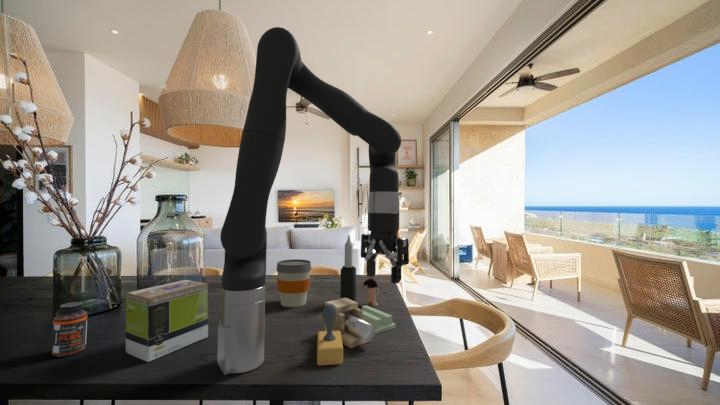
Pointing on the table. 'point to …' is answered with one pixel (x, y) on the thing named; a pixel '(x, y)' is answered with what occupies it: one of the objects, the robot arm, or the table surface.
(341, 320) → the beige block
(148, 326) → the tea box
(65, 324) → the supplement bottle
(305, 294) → the reusable coffee cup
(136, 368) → the table surface
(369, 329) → the axle
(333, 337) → the rubber stamp
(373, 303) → the grandmother figurine
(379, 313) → the cradle
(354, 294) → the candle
